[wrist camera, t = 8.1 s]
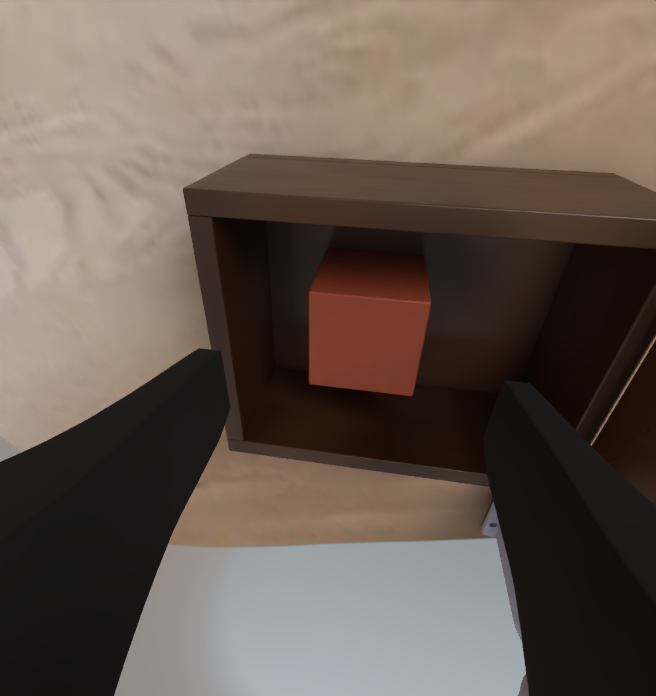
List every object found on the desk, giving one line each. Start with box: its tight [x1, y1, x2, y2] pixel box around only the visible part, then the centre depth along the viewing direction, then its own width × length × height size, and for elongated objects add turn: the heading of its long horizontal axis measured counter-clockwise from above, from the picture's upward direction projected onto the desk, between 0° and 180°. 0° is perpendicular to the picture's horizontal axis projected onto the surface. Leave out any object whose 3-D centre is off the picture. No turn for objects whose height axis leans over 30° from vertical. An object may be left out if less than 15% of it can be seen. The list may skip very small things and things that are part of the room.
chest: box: [183, 154, 656, 487], centre depth 17 cm, size 15×12×6 cm
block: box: [308, 249, 431, 396], centre depth 17 cm, size 4×4×4 cm
